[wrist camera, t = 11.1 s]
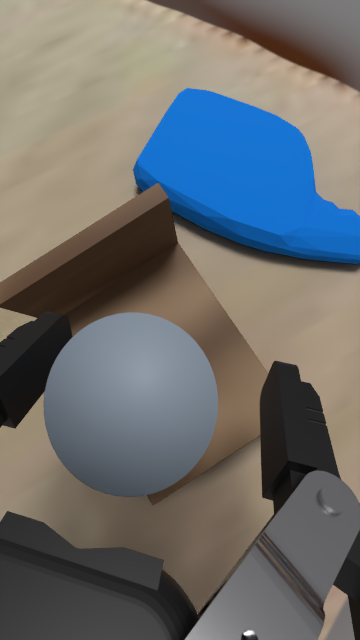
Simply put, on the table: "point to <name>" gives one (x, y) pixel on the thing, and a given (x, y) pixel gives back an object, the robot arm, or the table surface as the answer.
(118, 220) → the shelf step
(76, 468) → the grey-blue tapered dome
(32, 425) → the table surface
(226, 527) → the table surface
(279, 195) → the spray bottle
